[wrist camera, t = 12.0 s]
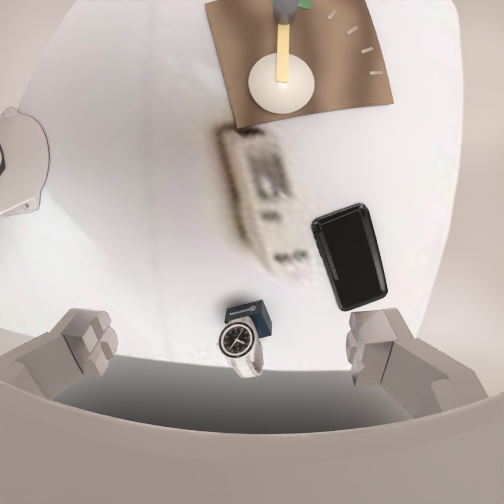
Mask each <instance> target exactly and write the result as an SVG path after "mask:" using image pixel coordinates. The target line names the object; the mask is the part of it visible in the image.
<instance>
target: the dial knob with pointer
mask: <svg viewBox="0 0 504 504" xmlns="http://www.w3.org/2000/svg"><path fill="white" fill-rule="evenodd" d="M298 5H299V0H273V19H274V21H275V22H276V23H278V41H277V53H273V54H270V55H267V56H265V57H263V58H261V59H260V60H259V61H258V62H257V63H256V64H255V65H254V66H253V68H252V69H251V72H250V75H249V80H248V83H249V90H250V93H251V95H252V97H253V98H254V100H255V101H256V102H257V103H258V104H259V105H260V106H261V107H262V108H264V109H265V110H267V111H270V112H272V113H277V114H287V113H291V112H294V111H297V110H298V109H300V108H302V107H303V106H304V105H306V104H307V102H308V101H309V100H310V98H311V97H312V94H313V91H314V77H313V74H312V71H311V70H310V68H309V66H308V65H307V64H306V63H305V62H304V61H303V60H301V59H300V58H298V57H296V56H294V55H291V54H289V26H290V24H291V23H293V22H294V20H295V17H296V13H297V9H298Z"/></svg>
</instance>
